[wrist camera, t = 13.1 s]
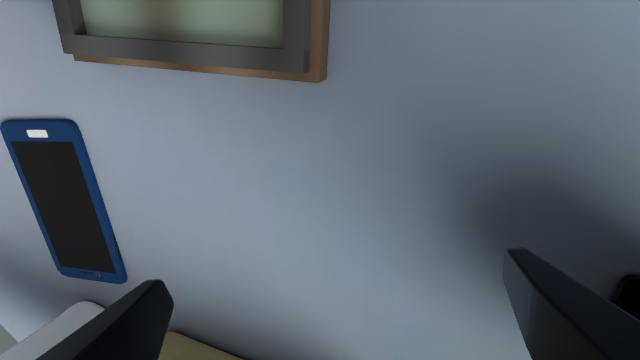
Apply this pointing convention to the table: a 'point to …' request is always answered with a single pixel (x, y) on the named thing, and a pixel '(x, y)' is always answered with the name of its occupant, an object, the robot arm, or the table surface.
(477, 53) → the table surface
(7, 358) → the drinking glass
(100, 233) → the cell phone
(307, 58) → the picture frame
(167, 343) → the cheese
